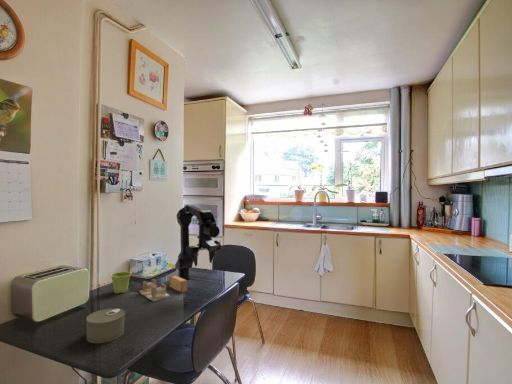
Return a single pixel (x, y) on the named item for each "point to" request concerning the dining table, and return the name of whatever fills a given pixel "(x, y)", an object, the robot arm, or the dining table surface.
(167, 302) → the dining table surface
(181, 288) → the orange tan rectangular block
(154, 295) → the tan piece
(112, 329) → the can
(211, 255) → the robot arm
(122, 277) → the plant pot
